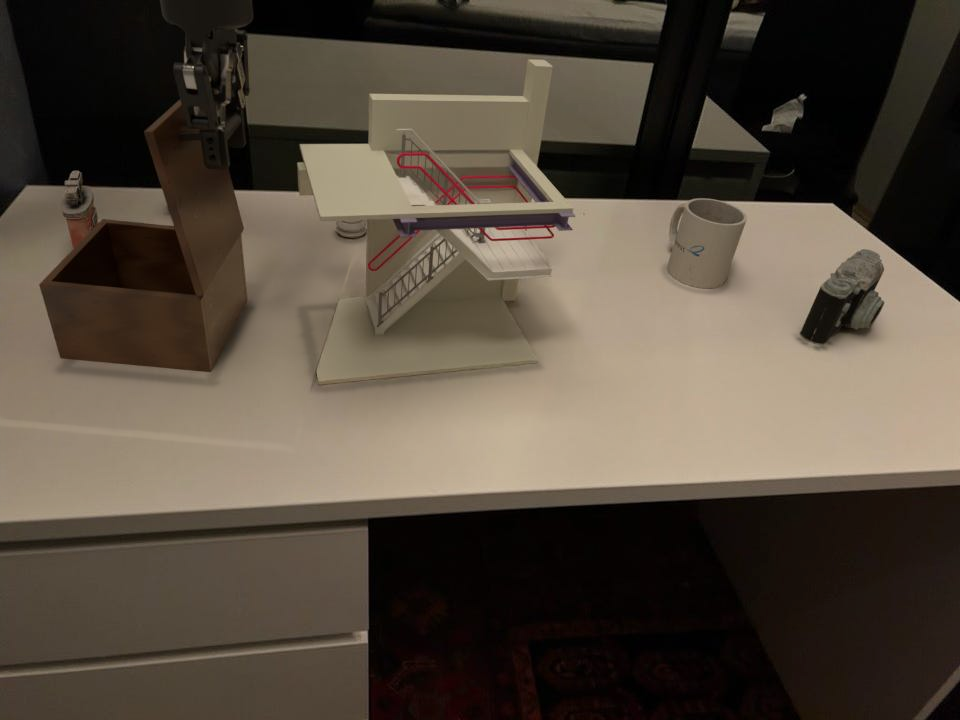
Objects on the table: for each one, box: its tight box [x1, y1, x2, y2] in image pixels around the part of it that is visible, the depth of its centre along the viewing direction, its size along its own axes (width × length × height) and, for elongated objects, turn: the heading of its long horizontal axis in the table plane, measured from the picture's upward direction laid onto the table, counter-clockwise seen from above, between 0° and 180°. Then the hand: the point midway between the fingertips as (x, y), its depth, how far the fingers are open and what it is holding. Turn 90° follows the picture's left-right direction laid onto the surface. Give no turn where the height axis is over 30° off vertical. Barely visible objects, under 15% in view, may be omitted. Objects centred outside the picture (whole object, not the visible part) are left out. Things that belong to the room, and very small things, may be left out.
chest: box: [38, 218, 248, 373], centre depth 81 cm, size 16×15×10 cm
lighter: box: [60, 170, 99, 250], centre depth 93 cm, size 8×3×10 cm, turn 16°
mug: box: [666, 197, 748, 289], centre depth 108 cm, size 12×9×10 cm
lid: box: [143, 99, 245, 296], centre depth 73 cm, size 16×15×5 cm
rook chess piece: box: [335, 220, 367, 239], centre depth 106 cm, size 4×4×8 cm
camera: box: [799, 248, 885, 346], centre depth 98 cm, size 15×7×10 cm, turn 137°
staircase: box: [296, 59, 576, 386], centre depth 80 cm, size 28×18×30 cm, turn 107°
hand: (226, 155), depth 72 cm, fingers closed on lid, 5 cm apart
